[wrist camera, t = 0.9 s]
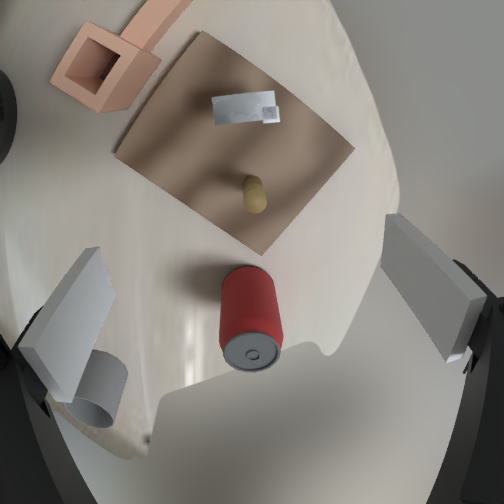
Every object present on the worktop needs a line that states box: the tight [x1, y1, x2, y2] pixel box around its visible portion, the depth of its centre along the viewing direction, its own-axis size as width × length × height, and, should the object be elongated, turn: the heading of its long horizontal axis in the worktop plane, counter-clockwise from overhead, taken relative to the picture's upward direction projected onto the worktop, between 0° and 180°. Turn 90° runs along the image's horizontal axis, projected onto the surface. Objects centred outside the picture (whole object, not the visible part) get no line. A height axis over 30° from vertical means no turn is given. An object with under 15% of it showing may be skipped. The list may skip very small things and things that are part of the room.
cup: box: [64, 350, 128, 428], centre depth 43 cm, size 8×8×10 cm
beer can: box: [219, 267, 283, 372], centre depth 35 cm, size 7×7×12 cm
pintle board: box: [114, 30, 355, 256], centre depth 29 cm, size 20×16×8 cm
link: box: [49, 0, 193, 114], centre depth 22 cm, size 18×6×8 cm, turn 142°
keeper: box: [212, 91, 280, 126], centre depth 28 cm, size 3×5×7 cm, turn 96°
